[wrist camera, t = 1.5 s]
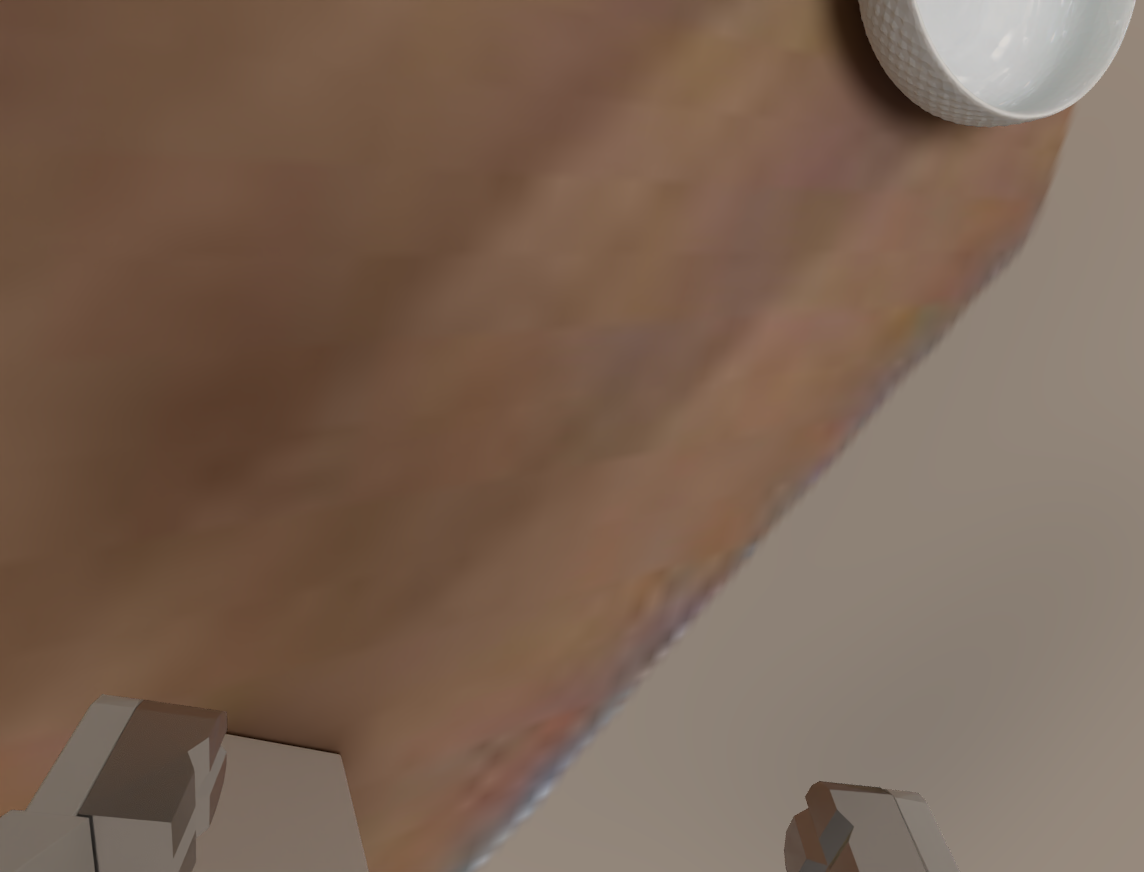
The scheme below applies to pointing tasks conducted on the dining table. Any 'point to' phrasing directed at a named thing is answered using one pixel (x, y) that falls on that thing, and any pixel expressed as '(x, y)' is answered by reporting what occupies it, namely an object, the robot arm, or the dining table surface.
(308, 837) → the milk carton
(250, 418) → the dining table surface
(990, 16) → the cereal bowl
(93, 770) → the robot arm
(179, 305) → the dining table surface
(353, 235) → the dining table surface
